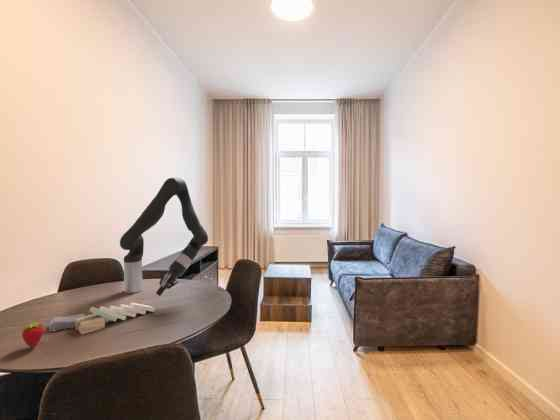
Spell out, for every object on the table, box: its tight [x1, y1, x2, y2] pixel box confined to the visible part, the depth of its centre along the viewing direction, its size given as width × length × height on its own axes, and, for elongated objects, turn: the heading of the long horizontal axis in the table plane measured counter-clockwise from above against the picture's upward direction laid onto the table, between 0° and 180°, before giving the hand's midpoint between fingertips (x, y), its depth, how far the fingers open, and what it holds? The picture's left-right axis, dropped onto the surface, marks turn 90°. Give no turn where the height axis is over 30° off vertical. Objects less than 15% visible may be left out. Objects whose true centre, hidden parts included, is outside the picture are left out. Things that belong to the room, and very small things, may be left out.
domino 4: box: [119, 303, 147, 315], centre depth 133 cm, size 2×5×10 cm
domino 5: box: [128, 301, 156, 313], centre depth 136 cm, size 2×5×10 cm
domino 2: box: [98, 305, 127, 321], centre depth 127 cm, size 2×5×10 cm
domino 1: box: [88, 306, 118, 323], centre depth 124 cm, size 2×5×10 cm
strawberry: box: [21, 319, 45, 348], centre depth 104 cm, size 6×8×10 cm
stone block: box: [48, 313, 86, 332], centre depth 124 cm, size 12×5×10 cm
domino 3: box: [108, 305, 137, 318], centre depth 130 cm, size 2×5×10 cm
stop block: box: [75, 313, 106, 335], centre depth 120 cm, size 8×8×4 cm
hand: (157, 294), depth 142 cm, fingers closed
